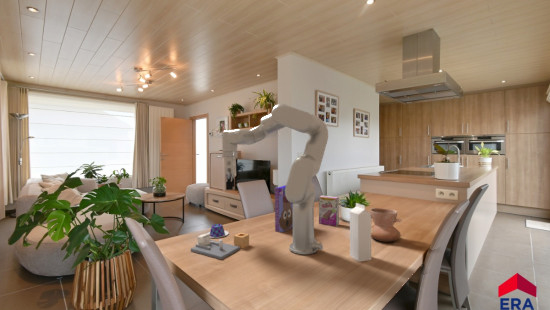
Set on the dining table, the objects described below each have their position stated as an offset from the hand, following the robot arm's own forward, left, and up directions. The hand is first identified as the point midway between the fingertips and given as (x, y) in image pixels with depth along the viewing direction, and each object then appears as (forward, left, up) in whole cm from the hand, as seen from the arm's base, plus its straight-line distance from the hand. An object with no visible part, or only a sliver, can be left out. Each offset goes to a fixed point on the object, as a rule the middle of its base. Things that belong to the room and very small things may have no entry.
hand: (230, 188), depth 127 cm
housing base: (-5, +16, -25) cm, 31 cm away
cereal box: (-18, -28, -26) cm, 42 cm away
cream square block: (+2, +16, -24) cm, 29 cm away
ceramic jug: (-68, -35, -26) cm, 80 cm away
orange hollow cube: (-12, +6, -25) cm, 29 cm away
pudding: (+9, 0, -26) cm, 28 cm away
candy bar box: (-37, -46, -26) cm, 64 cm away
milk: (-63, -7, -26) cm, 68 cm away
